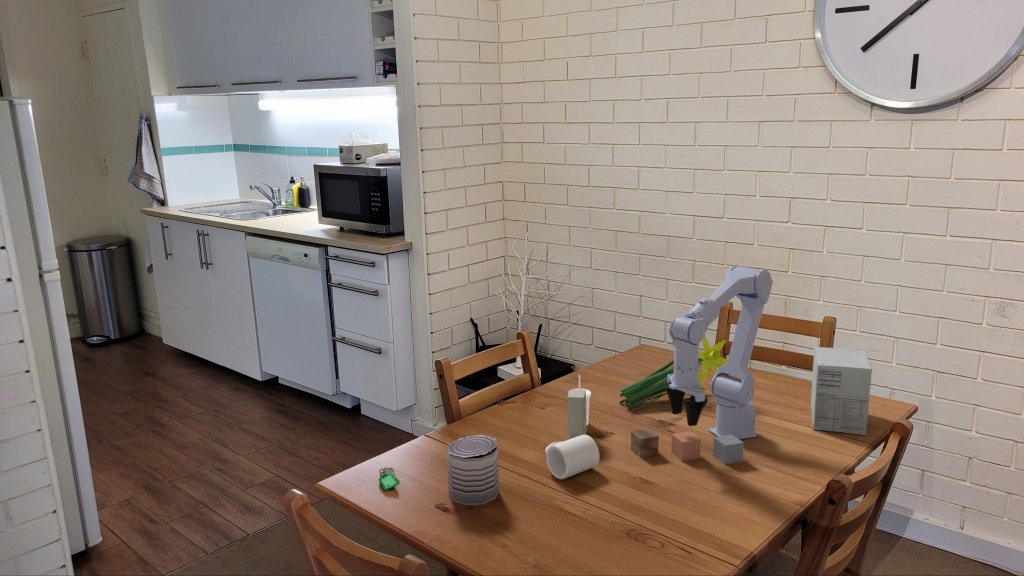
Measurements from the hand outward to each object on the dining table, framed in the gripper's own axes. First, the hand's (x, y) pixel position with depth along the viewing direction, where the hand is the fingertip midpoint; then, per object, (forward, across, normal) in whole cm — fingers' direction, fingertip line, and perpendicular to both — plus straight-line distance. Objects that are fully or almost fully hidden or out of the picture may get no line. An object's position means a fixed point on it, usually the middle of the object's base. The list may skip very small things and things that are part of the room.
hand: (684, 419), depth 183 cm
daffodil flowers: (+10, -33, +15) cm, 37 cm away
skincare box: (+10, -18, -21) cm, 29 cm away
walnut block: (+10, -5, -8) cm, 13 cm away
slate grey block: (+10, +5, +9) cm, 14 cm away
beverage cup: (+10, -26, -17) cm, 33 cm away
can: (+10, +2, -54) cm, 54 cm away
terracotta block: (+10, 0, 0) cm, 10 cm away
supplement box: (+10, -5, +49) cm, 51 cm away
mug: (+10, -2, -30) cm, 31 cm away
